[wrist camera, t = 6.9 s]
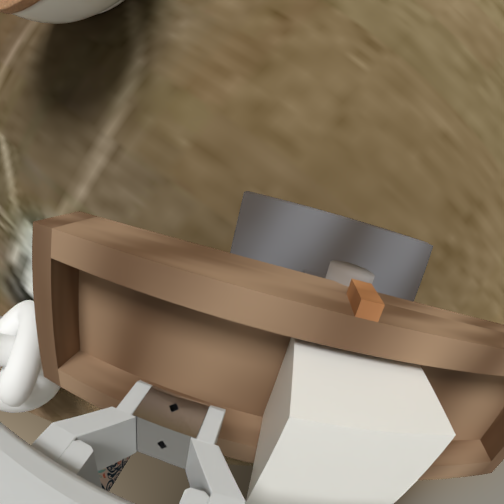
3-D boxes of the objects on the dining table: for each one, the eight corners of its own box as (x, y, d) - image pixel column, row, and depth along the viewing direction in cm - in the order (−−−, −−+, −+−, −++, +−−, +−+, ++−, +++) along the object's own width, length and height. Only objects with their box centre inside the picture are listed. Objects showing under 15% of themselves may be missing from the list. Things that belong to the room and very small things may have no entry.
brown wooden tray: (495, 266, 17) (587, 323, 7) (432, 400, 20) (471, 492, 10) (150, 170, 20) (37, 171, 10) (130, 326, 23) (49, 402, 13)
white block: (411, 351, 11) (455, 435, 6) (365, 432, 12) (378, 517, 7) (295, 324, 11) (289, 416, 6) (263, 413, 13) (245, 503, 8)
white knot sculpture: (93, 402, 26) (46, 456, 17) (20, 371, 28) (-25, 407, 19) (69, 302, 23) (-3, 347, 15) (-3, 284, 25) (-62, 312, 16)
